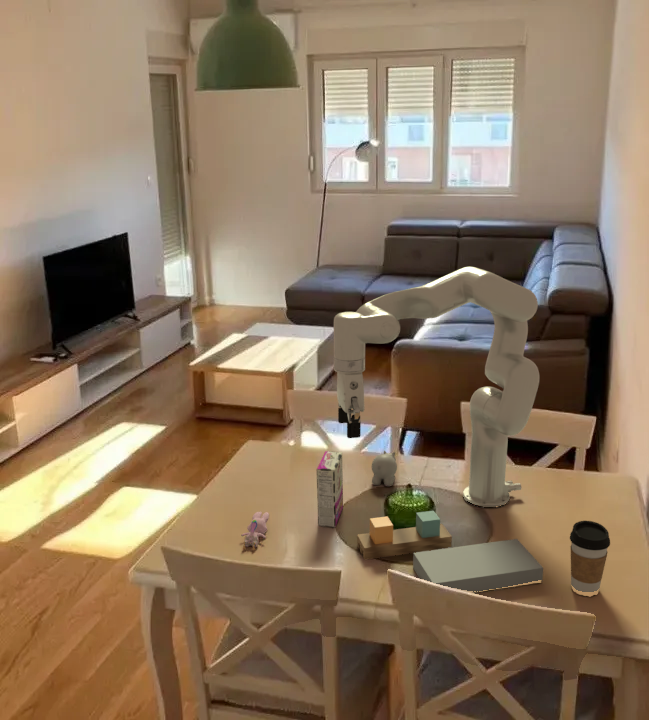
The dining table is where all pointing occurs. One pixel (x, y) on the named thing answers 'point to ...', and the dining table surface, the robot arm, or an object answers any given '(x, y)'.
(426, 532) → the teal cube
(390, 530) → the orange cube
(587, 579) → the coffee cup
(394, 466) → the round bodied animal figurine
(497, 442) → the robot arm
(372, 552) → the brown wooden block
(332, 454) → the candy bar box
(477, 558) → the dock
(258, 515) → the rabbit figure
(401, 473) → the dining table surface
